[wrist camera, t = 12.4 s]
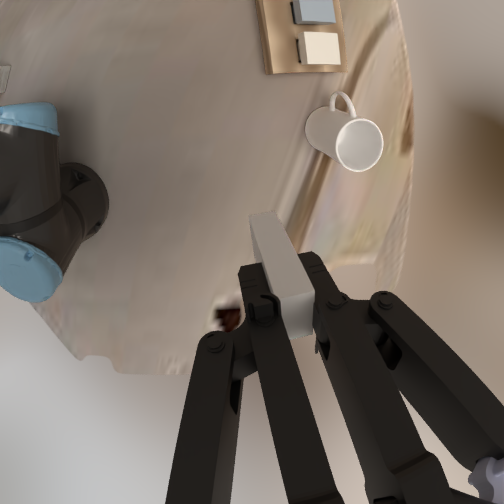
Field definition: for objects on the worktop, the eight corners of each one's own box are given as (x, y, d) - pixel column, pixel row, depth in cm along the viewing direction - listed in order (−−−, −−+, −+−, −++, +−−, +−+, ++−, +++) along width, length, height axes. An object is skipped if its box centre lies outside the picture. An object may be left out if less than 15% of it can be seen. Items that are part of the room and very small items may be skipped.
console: (265, 74, 37) (273, 73, 33) (250, -28, 26) (255, -38, 22) (334, 72, 38) (347, 72, 34) (320, -25, 26) (332, -33, 22)
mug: (302, 89, 39) (332, 93, 30) (347, 89, 40) (386, 96, 30) (305, 153, 46) (333, 176, 37) (348, 150, 47) (383, 171, 37)
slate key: (287, 28, 31) (302, 20, 25) (283, 3, 28) (297, -9, 22) (316, 29, 31) (335, 22, 25) (312, 4, 28) (331, -6, 23)
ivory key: (291, 66, 35) (307, 63, 29) (288, 38, 32) (303, 31, 26) (320, 65, 35) (340, 64, 29) (317, 38, 32) (337, 33, 26)
